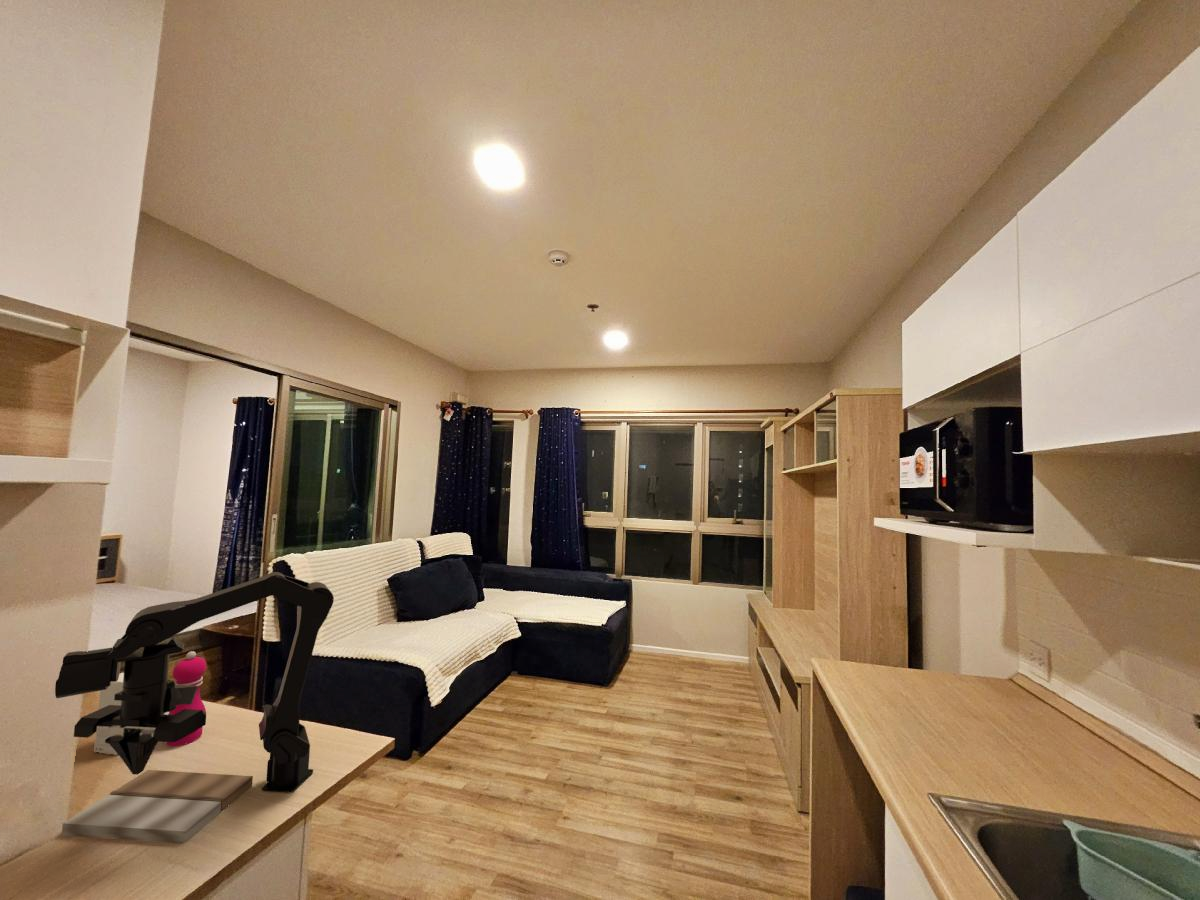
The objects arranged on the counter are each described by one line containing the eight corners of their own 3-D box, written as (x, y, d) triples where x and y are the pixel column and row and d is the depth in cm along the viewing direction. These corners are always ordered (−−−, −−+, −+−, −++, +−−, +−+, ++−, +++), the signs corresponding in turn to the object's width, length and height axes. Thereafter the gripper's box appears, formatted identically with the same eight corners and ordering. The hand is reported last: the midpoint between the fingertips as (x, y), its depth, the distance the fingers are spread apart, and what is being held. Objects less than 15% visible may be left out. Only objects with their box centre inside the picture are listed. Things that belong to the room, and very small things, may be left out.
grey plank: (220, 813, 84) (221, 801, 85) (184, 843, 78) (185, 831, 78) (107, 805, 85) (108, 794, 86) (61, 835, 78) (62, 823, 79)
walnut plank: (252, 786, 92) (252, 775, 92) (221, 811, 85) (222, 800, 85) (147, 780, 93) (148, 769, 93) (108, 804, 86) (109, 793, 86)
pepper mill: (155, 750, 102) (162, 658, 104) (175, 732, 109) (182, 647, 111) (193, 746, 104) (200, 656, 106) (211, 728, 111) (217, 645, 113)
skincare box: (115, 756, 100) (121, 683, 101) (90, 753, 101) (97, 680, 102) (158, 735, 108) (163, 668, 109) (134, 732, 109) (140, 665, 110)
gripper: (234, 665, 89) (228, 748, 88) (142, 660, 89) (135, 743, 88) (179, 692, 78) (171, 788, 77) (75, 686, 78) (66, 781, 77)
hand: (137, 772), depth 80 cm, fingers closed
